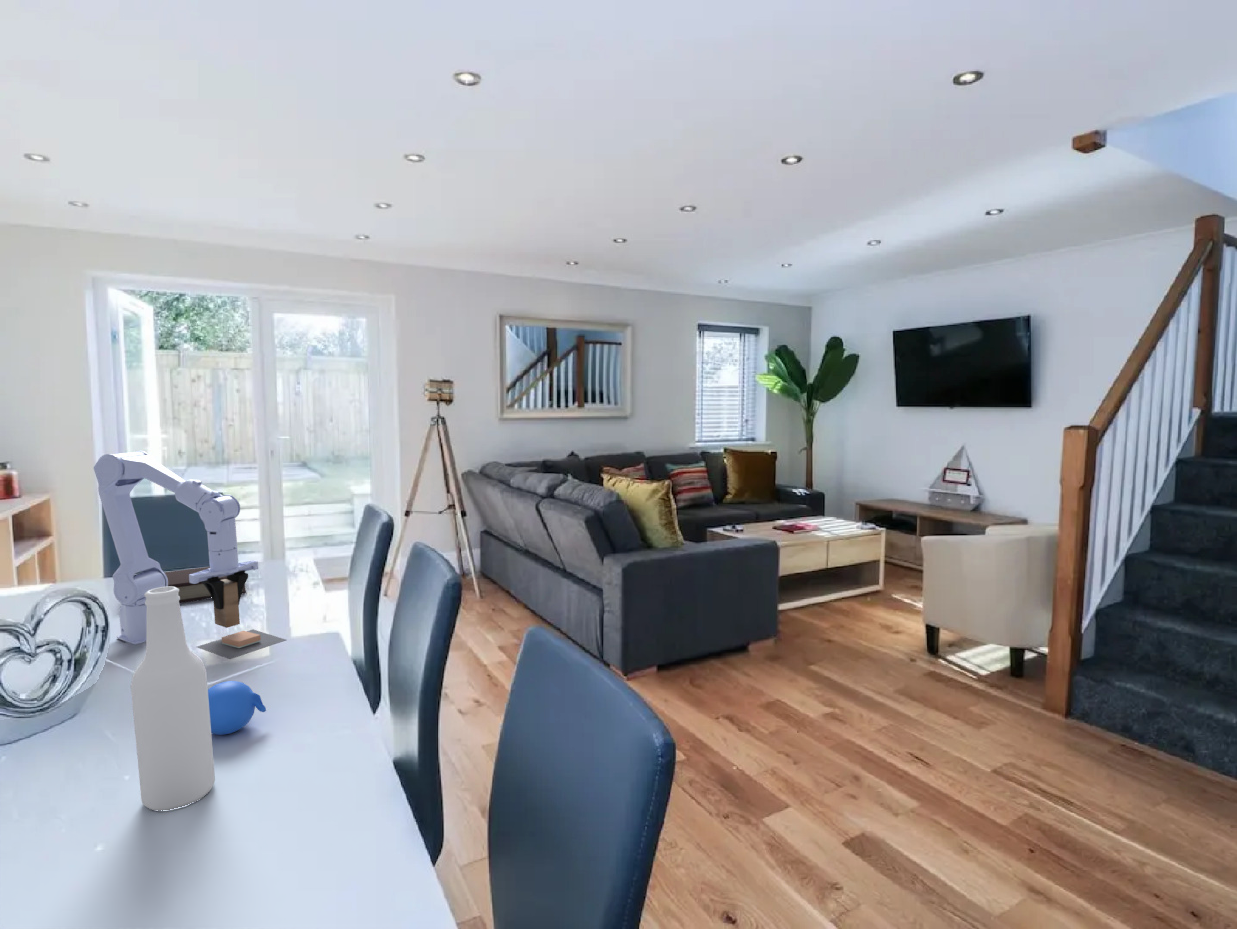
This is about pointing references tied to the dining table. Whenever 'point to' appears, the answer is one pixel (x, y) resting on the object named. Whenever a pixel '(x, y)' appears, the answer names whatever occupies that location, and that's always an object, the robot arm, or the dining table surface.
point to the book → (190, 585)
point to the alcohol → (171, 711)
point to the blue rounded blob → (232, 706)
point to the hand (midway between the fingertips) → (227, 606)
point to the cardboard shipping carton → (228, 606)
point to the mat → (234, 652)
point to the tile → (241, 639)
